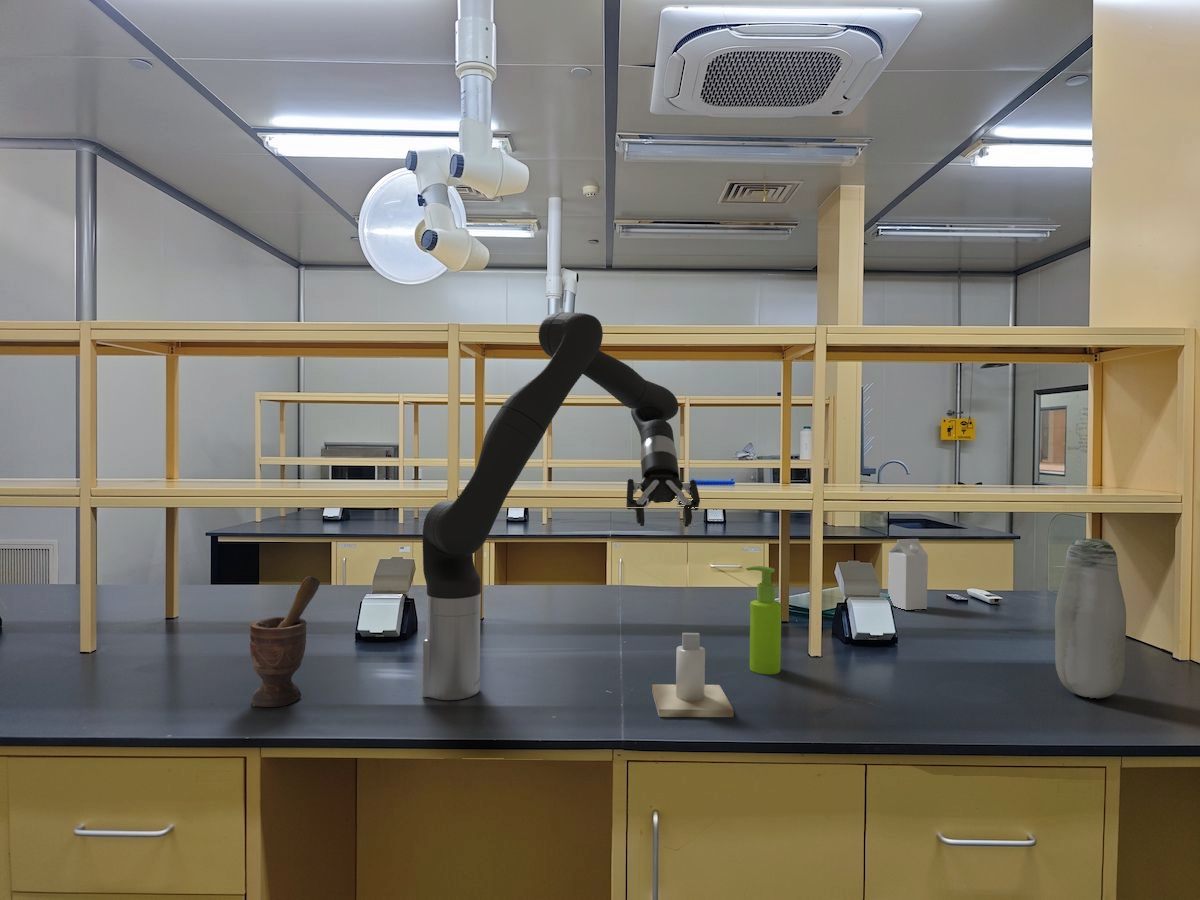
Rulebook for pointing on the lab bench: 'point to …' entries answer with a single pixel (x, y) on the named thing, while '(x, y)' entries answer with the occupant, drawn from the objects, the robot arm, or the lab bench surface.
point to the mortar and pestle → (281, 650)
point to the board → (691, 703)
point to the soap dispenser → (765, 626)
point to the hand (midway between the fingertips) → (664, 523)
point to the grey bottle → (1090, 621)
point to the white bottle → (690, 668)
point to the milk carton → (908, 575)
